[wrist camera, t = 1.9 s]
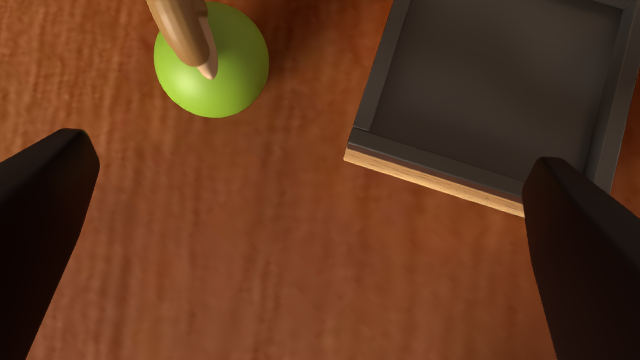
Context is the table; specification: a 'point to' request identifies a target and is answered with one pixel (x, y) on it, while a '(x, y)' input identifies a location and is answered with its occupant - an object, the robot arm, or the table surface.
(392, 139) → the square tray
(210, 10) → the green two-tone figurine
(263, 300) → the table surface
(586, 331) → the robot arm
